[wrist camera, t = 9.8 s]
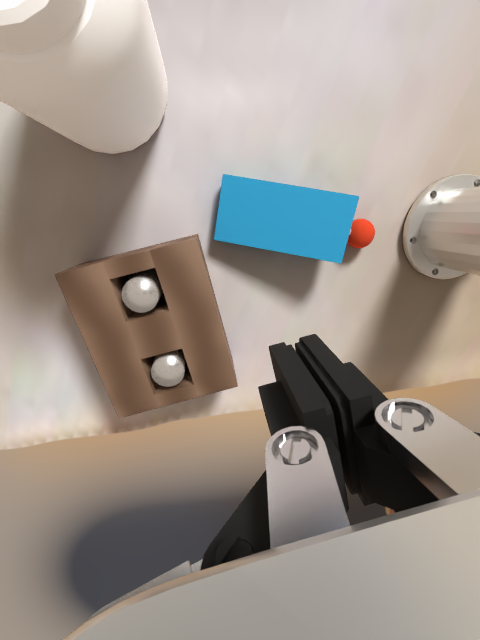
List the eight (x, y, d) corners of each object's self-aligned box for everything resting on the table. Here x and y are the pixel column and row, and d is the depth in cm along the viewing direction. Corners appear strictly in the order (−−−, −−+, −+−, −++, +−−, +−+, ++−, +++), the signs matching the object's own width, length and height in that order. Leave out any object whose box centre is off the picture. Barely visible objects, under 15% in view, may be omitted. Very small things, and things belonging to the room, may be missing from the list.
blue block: (226, 238, 42) (362, 263, 40) (213, 239, 36) (376, 270, 34) (234, 183, 40) (378, 207, 38) (223, 174, 34) (396, 202, 32)
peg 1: (160, 263, 38) (151, 273, 31) (170, 291, 39) (163, 307, 32) (131, 270, 38) (116, 282, 31) (141, 298, 39) (129, 316, 32)
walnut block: (197, 233, 37) (196, 238, 30) (232, 359, 43) (237, 386, 36) (81, 263, 37) (54, 274, 30) (131, 386, 42) (118, 418, 36)
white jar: (188, 130, 34) (168, 25, 15) (79, 173, 34) (-77, 122, 15) (135, -14, 29) (14, -419, 11) (11, 35, 30) (-326, -278, 11)
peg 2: (182, 330, 41) (178, 353, 34) (190, 355, 42) (188, 381, 35) (155, 338, 41) (146, 362, 34) (164, 362, 42) (157, 390, 35)
